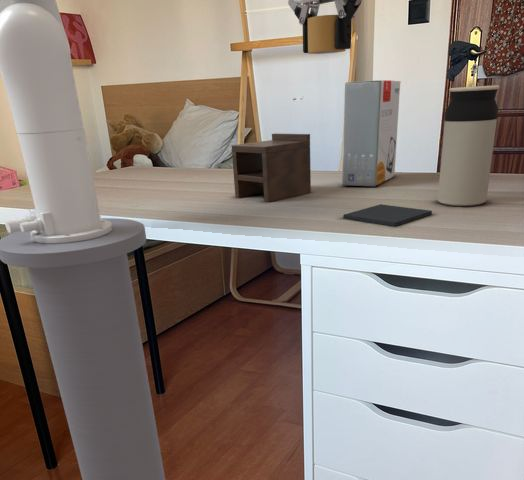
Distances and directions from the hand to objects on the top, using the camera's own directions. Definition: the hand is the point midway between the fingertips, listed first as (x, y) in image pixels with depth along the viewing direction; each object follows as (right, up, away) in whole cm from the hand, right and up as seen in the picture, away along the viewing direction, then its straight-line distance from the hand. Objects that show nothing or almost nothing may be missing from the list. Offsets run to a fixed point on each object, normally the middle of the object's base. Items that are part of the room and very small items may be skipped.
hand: (326, 49), depth 85 cm
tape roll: (0, 0, 0) cm, 0 cm away
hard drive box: (+13, -11, +32) cm, 37 cm away
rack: (-8, -17, +23) cm, 30 cm away
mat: (+10, -27, 0) cm, 29 cm away
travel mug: (+24, -23, +7) cm, 34 cm away
